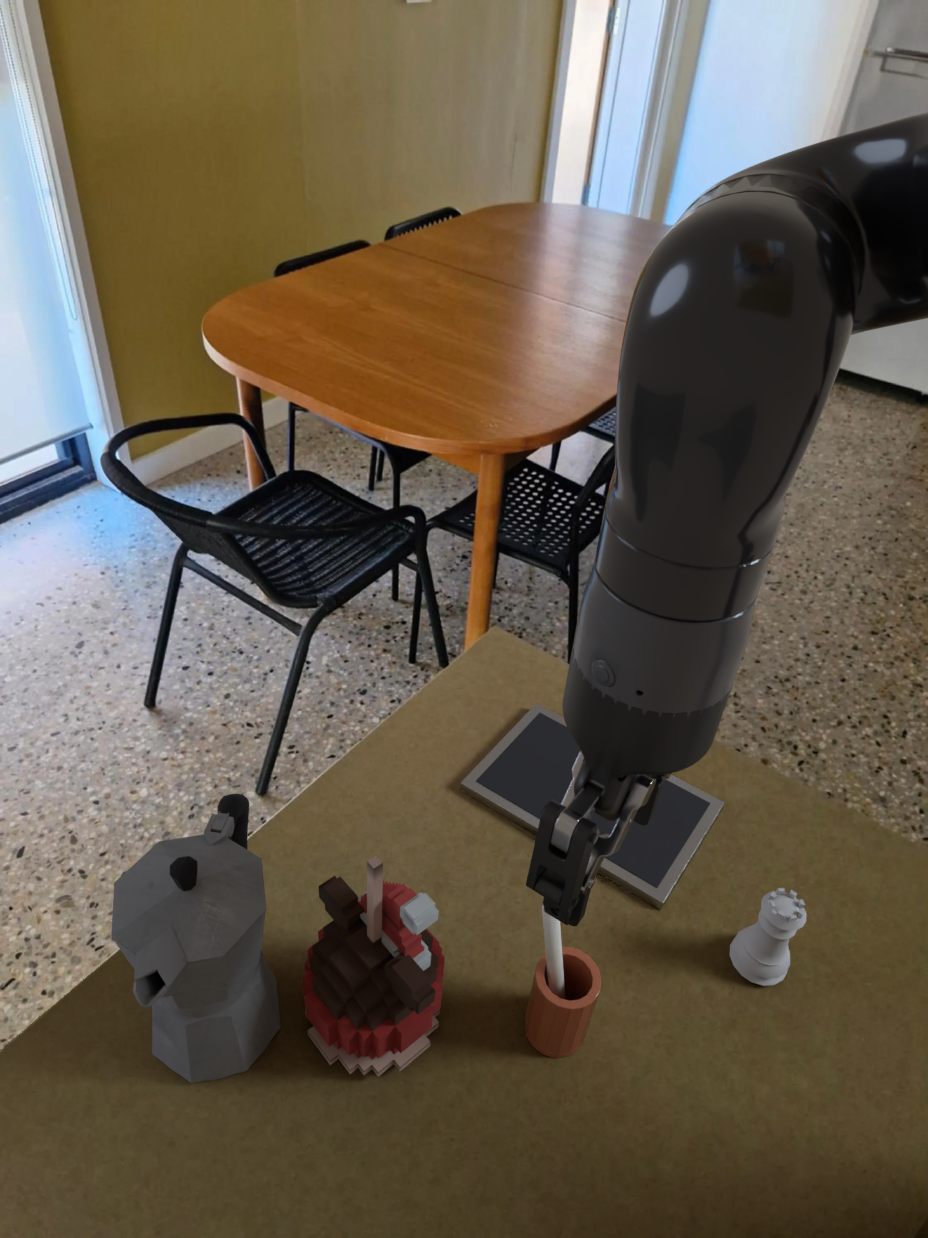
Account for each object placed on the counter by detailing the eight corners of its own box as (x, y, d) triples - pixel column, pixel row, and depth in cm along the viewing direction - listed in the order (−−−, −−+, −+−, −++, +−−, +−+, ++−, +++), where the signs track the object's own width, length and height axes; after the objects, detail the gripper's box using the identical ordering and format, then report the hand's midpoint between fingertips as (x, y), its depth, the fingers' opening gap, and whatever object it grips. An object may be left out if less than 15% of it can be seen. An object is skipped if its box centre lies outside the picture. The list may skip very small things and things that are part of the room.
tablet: (722, 809, 80) (725, 801, 80) (660, 910, 72) (663, 902, 71) (535, 710, 89) (536, 702, 88) (459, 789, 80) (460, 781, 79)
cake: (277, 997, 64) (257, 844, 53) (380, 923, 69) (382, 769, 58) (365, 1118, 58) (365, 975, 47) (471, 1027, 63) (494, 879, 52)
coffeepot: (250, 1130, 57) (221, 986, 46) (110, 1103, 58) (47, 956, 46) (316, 919, 69) (305, 764, 58) (199, 899, 70) (166, 742, 58)
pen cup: (596, 1021, 64) (612, 971, 60) (565, 1071, 61) (580, 1022, 57) (544, 986, 66) (556, 934, 62) (512, 1033, 63) (523, 982, 59)
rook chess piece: (716, 957, 69) (743, 898, 64) (750, 925, 71) (779, 866, 66) (763, 1001, 66) (796, 943, 61) (797, 966, 69) (831, 908, 64)
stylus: (570, 1024, 63) (562, 899, 56) (562, 1036, 63) (553, 912, 56) (556, 1016, 64) (547, 892, 57) (548, 1028, 63) (538, 904, 56)
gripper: (662, 783, 35) (597, 994, 45) (785, 609, 44) (708, 816, 54) (503, 699, 38) (476, 914, 48) (649, 552, 47) (600, 758, 57)
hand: (599, 861), depth 51 cm, fingers open, 8 cm apart
